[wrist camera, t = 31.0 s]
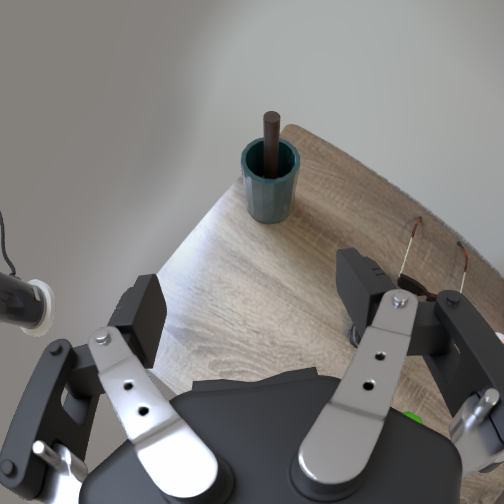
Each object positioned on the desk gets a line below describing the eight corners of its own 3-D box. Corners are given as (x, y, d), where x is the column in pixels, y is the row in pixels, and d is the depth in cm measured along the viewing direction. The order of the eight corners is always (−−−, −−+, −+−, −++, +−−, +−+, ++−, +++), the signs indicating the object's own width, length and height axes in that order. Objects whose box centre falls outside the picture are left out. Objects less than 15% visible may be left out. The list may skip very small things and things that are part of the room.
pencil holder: (238, 212, 53) (230, 169, 40) (259, 177, 56) (257, 129, 42) (280, 231, 52) (284, 192, 39) (299, 195, 54) (308, 149, 41)
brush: (253, 206, 53) (246, 122, 32) (264, 187, 54) (263, 100, 33) (275, 216, 52) (280, 134, 31) (286, 197, 53) (296, 111, 32)
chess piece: (383, 323, 46) (415, 315, 35) (371, 355, 44) (402, 356, 33) (353, 312, 47) (379, 301, 35) (341, 344, 45) (365, 343, 34)
